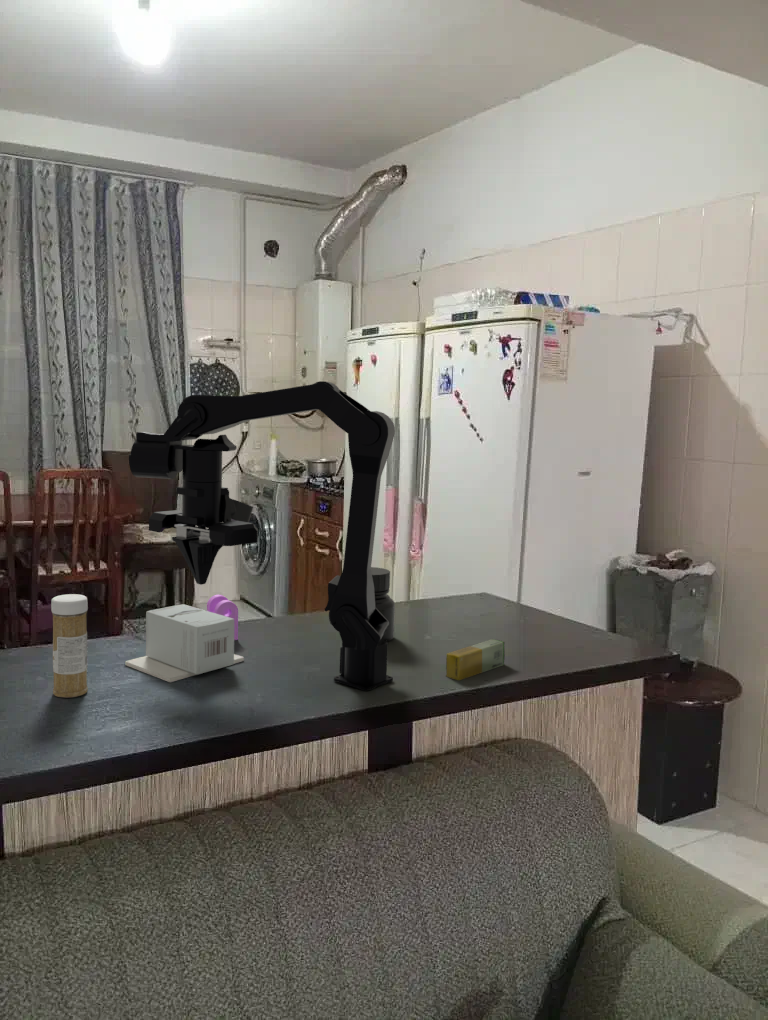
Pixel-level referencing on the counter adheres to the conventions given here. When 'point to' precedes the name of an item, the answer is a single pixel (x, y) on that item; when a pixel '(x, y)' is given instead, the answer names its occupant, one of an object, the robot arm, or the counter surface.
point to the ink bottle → (384, 599)
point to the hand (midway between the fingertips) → (201, 583)
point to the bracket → (224, 610)
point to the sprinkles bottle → (69, 645)
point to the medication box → (475, 659)
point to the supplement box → (190, 638)
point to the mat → (164, 668)
